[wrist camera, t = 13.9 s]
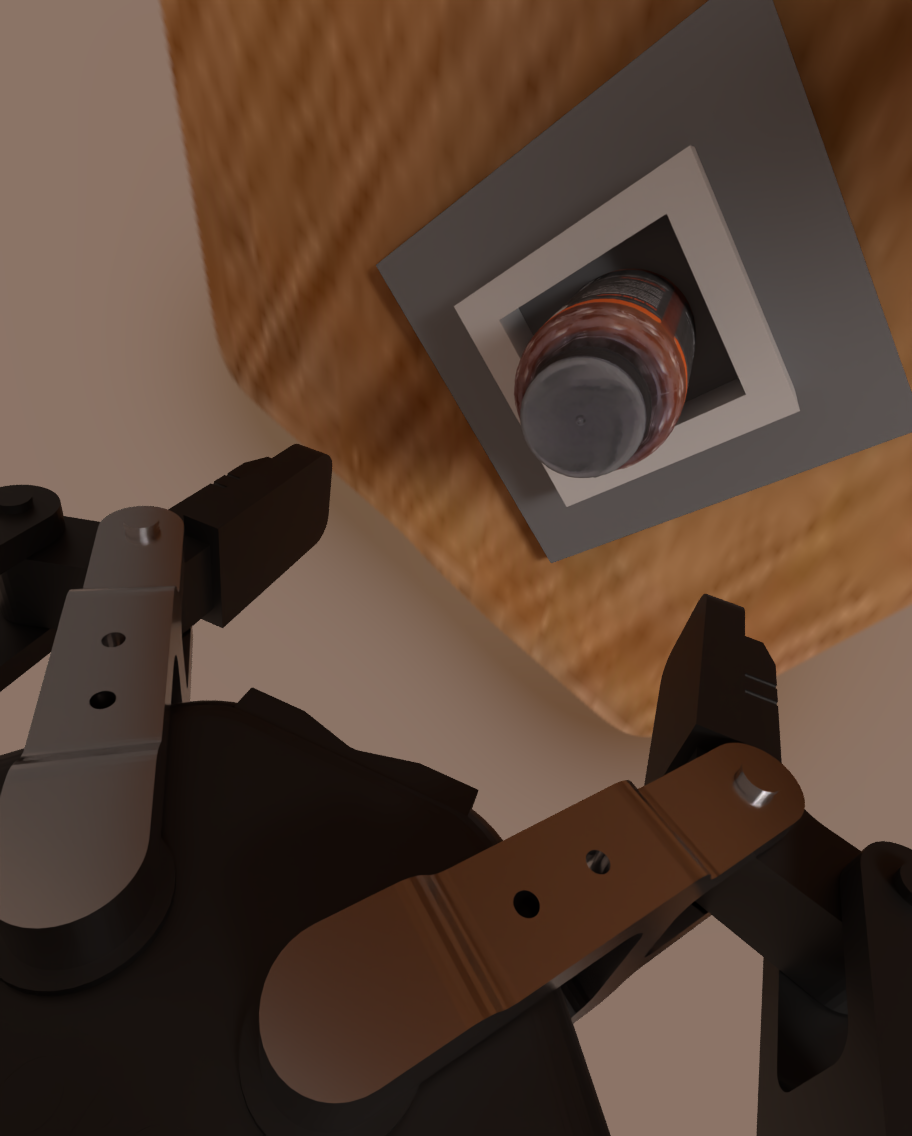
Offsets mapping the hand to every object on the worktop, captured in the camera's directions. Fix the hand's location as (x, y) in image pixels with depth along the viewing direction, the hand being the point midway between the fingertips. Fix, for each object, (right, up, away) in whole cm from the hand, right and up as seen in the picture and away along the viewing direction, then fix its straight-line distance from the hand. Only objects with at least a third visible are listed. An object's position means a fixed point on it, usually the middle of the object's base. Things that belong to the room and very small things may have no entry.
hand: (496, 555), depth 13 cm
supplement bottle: (+7, +10, +16) cm, 20 cm away
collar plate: (+7, +11, +17) cm, 21 cm away
